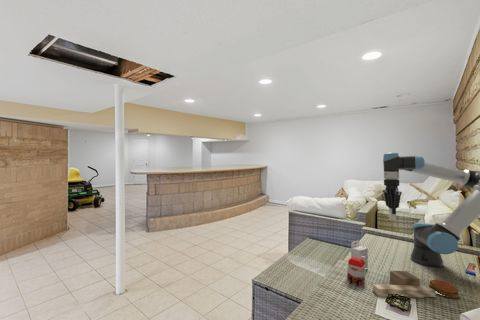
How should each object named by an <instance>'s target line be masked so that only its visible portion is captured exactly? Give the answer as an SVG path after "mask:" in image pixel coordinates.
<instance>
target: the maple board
mask: <svg viewBox="0 0 480 320" xmlns="http://www.w3.org/2000/svg"><path fill="white" fill-rule="evenodd" d="M372 292H373V293H374V294H375V295H377V296H378V297H388V296H387V295H388V294H399V295H403V296H409V297H408V298H424V297H435V298H436V294H435V290H433V289H432V288H430V287H429V285H420V286H417V285H392V284H378V283H377V284H375V283H373V285H372Z"/></svg>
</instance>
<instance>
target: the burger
mask: <svg viewBox="0 0 480 320" xmlns="http://www.w3.org/2000/svg"><path fill="white" fill-rule="evenodd" d="M428 286H429V287H430V288H432V289H433V290H435V291H437V292H438V293H440V294H442V295H445V296H448V297H447V298H449V297H451V298H450V299H458V298H460V295H459V289H458V288H457V287H456V286H455V284H453V283H451V282H449V281H447V280H443V279H434V278H433V279H431V280H430V281H429V284H428Z"/></svg>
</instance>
